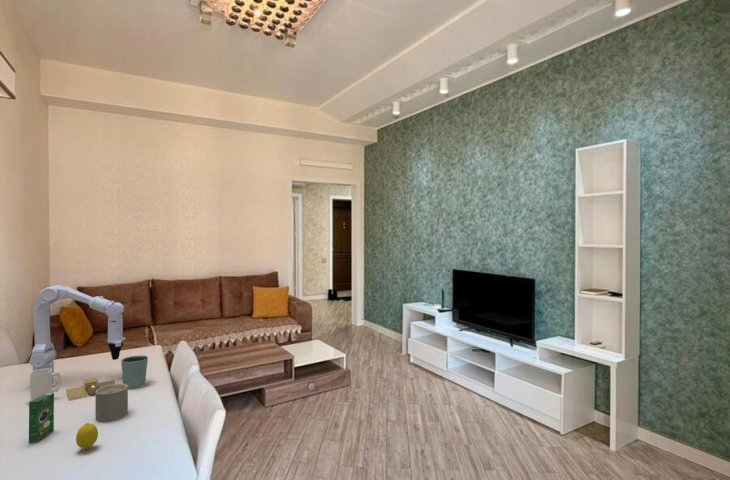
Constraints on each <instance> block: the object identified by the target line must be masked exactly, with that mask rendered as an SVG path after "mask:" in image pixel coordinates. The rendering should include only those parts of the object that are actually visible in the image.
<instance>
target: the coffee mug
mask: <svg viewBox="0 0 730 480" xmlns="http://www.w3.org/2000/svg"><path fill="white" fill-rule="evenodd" d="M128 391H129V390H128V386H127V385H126V384H123V383H115V384H112V385H107V386H104V387H101V388H99V389H97V390H96V392H95V395H94V396H95V401H94V402H95V406H94V407H95V411H94V412H95V421H96V422H97V423H98V422H99V423H110V422H111V423H112V422H115V421H118V420H120V419H123V418H124V417H126V416H127V415H128V413H129V404H128V403H129V399H128V398H129V392H128Z"/></svg>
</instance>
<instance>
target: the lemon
mask: <svg viewBox="0 0 730 480" xmlns="http://www.w3.org/2000/svg"><path fill="white" fill-rule="evenodd" d="M98 437H99V432H98V428H97V426H96V425H95V424H93V423H89V422H86V423H85V424H83V425H82V426H80V428H79V429H78V430H77V433H76V437H75V442H76V444H77V447H79V448H81V449H85V450H88V449H90V447H92V446H93V445H94V444H96V442H97V440H98Z"/></svg>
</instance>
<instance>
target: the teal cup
mask: <svg viewBox="0 0 730 480" xmlns="http://www.w3.org/2000/svg"><path fill="white" fill-rule="evenodd" d="M120 361H121V376H122V377H121V378H122V384H126V385H127V386H128V391H129V390H136V389H140V388H142V387H144V386H146V381H147V380H146V377H147V368H148V361H149V357H148V356H147V355H132V356H126V357H124V358H121V360H120Z"/></svg>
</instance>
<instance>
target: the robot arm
mask: <svg viewBox="0 0 730 480" xmlns="http://www.w3.org/2000/svg"><path fill="white" fill-rule="evenodd" d="M64 299H71V300H74V301H78V302H81V303H84V304H87V305H88V306H89V308H90V309H93V310H96V311H98V312H100V313H104V314H106V316H107V340H106V341H107V343H108V344H107V347H108V349H109V352H110V355H111V360H113V361H115V360H119V358H120V354H121V351H122V348H123V347H124V343H123V341H125V340H127V339H126V337H123V334H124V332H123V331H124V330H123V328H124V327H123V324H124V323H123V321H124V319H123V313H124V311H125V306H124V305H123V304H122V303H121V302H119V301H116V302H115V300H109V299H106V298H105V297H104V296H102V295H100V296H99V295H97V296H90V295H88V294H85V293H83V292H81V291H78V290H76V289H74V288H71V287H69V286H64V285H63V284H56V285H53V286H48V287H45V288H43V289H42V290H40V291H39V292H38V295H37V297H36V299H35V300H34V302H33V304H32V313H33V314H32V315H33V331H34V332H33V333H34V346H33V348H32V351H31V356H30V358H29V364H30V365H31V367H32V371H35V370H39V369H46V368H49V369H52V373H55V362H54V360H55V359H56V357H57V350H55V347H54V344H53V343H52V342H51V341H52V340H51V325H50V307H51V306H52V305H53V304H54V303H55V302H56V301H59V300H64ZM56 385H57V384H56V380H55V376H53V377H52V387H57V386H56Z"/></svg>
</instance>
